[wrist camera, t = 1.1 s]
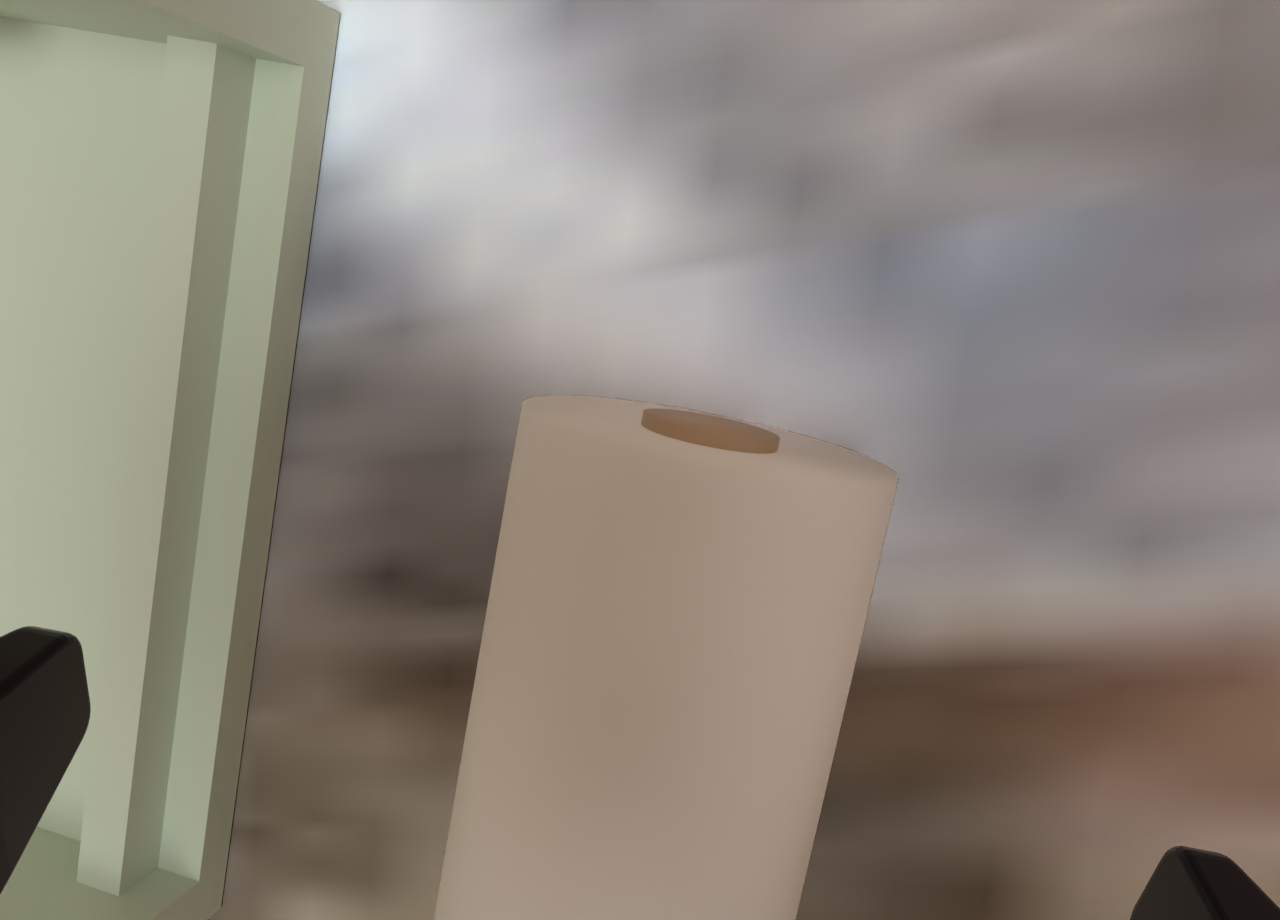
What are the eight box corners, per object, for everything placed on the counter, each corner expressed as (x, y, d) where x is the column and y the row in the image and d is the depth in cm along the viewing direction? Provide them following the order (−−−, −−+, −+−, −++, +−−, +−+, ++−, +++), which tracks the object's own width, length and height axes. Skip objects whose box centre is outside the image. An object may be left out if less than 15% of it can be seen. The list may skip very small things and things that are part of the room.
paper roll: (772, 1006, 22) (721, 1257, 16) (489, 913, 23) (347, 1115, 17) (902, 443, 20) (899, 497, 14) (586, 375, 21) (462, 398, 15)
